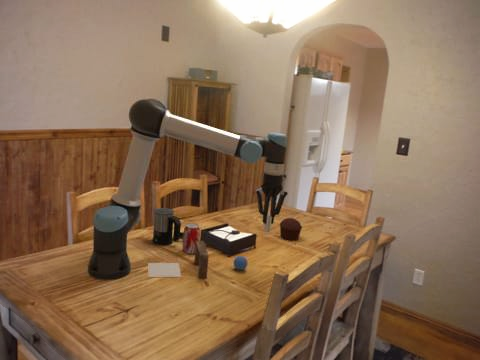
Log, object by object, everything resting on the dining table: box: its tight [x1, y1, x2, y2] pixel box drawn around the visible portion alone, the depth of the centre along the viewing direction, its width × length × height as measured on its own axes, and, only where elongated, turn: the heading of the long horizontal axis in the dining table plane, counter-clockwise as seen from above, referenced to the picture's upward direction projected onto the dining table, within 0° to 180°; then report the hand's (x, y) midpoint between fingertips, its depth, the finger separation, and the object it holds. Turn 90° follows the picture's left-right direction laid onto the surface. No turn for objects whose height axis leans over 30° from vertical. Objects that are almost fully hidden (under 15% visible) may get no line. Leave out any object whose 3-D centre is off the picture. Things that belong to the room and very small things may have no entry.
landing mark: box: [147, 262, 182, 279], centre depth 153 cm, size 12×12×1 cm
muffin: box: [279, 217, 303, 242], centre depth 201 cm, size 12×11×10 cm
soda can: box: [182, 223, 201, 255], centre depth 171 cm, size 7×7×12 cm
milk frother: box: [151, 207, 184, 246], centre depth 182 cm, size 14×16×15 cm
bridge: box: [194, 240, 210, 279], centre depth 155 cm, size 3×14×9 cm, turn 13°
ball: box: [233, 255, 248, 271], centre depth 159 cm, size 6×6×6 cm
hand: (266, 231), depth 159 cm, fingers closed
